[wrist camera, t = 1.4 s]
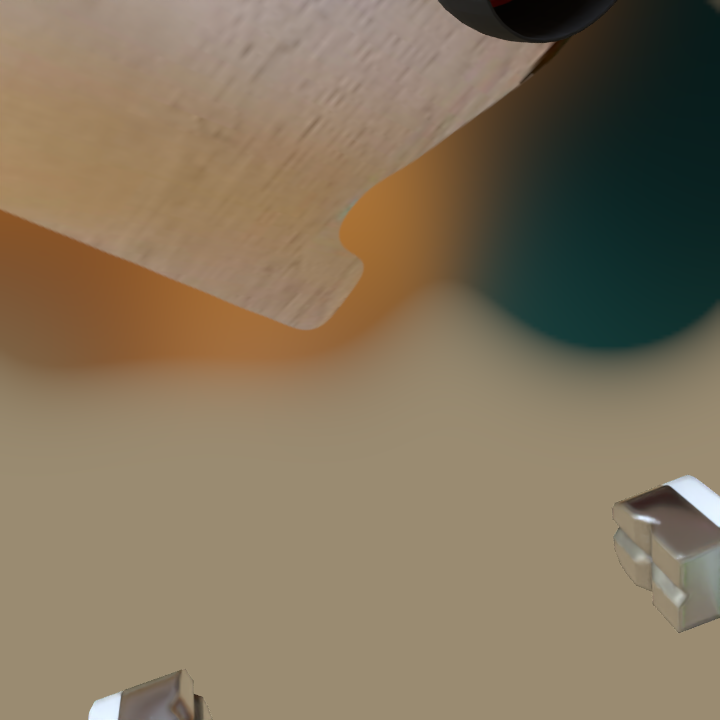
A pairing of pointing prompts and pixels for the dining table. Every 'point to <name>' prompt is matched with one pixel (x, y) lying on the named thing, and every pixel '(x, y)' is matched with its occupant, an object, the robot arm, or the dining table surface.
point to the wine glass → (528, 17)
